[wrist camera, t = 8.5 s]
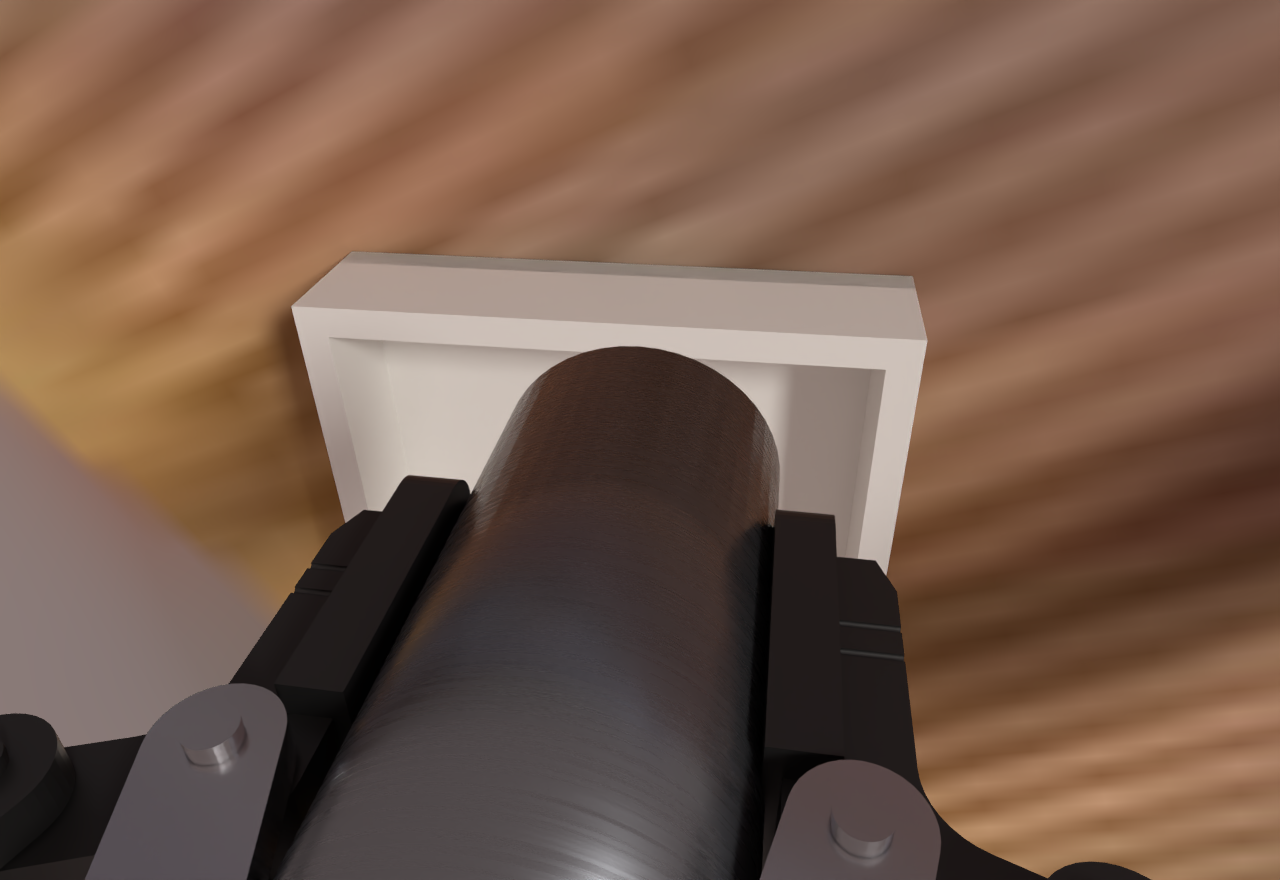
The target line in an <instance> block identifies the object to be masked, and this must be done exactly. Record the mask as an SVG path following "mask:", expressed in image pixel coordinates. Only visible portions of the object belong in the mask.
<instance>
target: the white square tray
mask: <svg viewBox="0 0 1280 880" xmlns="http://www.w3.org/2000/svg"><path fill="white" fill-rule="evenodd" d="M291 308H292V312H293V316H294V320H295V324H296V328H297V332H298V336H299V340H300V344H301V348H302V352H303V356H304V360H305V364H306V368H307V372H308V375H309V379H310V383H311V387H312V391H313V395H314V399H315V403H316V407H317V411H318V415H319V419H320V423H321V427H322V431H323V435H324V439H325V443H326V447H327V451H328V455H329V459H330V463H331V467H332V471H333V475H334V479H335V483H336V487H337V491H338V495H339V499H340V503H341V507H342V511H343V515H344V519H345V523H346V522H348V521H349V520H350V519H352V518H353V517H354V516H356V515H357V514H359V513H360V512H361V511H363V510H372V511H383V509H384V508H385V506H386V505H387V503H388V501H389V500H390V498H391V497H392V495H393V494H394V492H395V490H396V489H397V487H398V486H399V484H400V482H401V481H402V480H403V479H404V478H405V477H406V476H408V475H415V476H426V477H437V478H448V479H459V480H464V481H466V482H467V484H468V486H469V489H470V494H471V492H472V490H473V488H474V487H475V485H476V483H477V481H478V479H479V477H480V475H481V473H482V471H483V469H484V467H485V465H486V463H487V461H488V459H489V457H490V455H491V453H492V451H493V449H494V448H495V446H496V444H497V442H498V440H499V438H500V436H501V434H502V432H503V430H504V428H505V426H506V424H507V422H508V420H509V418H510V416H511V414H512V412H513V410H514V409H515V407H516V405H517V403H518V401H519V399H520V398H521V397H522V395H523V394H524V392H525V391H526V390H527V388H528V387H529V386H530V385H531V384H532V383H533V382H534V381H535V380H536V379H537V378H538V377H539V376H541V375H542V374H543V373H545V372H546V371H547V370H549V369H550V368H551V367H553V366H555V365H556V364H558V363H560V362H562V361H564V360H566V359H568V358H570V357H573V356H576V355H578V354H581V353H584V352H588V351H592V350H596V349H600V348H608V347H617V346H641V347H648V348H656V349H662V350H666V351H670V352H674V353H678V354H681V355H683V356H686V357H689V358H691V359H694V360H697V361H699V362H701V363H702V364H704V365H706V366H708V367H710V368H712V369H714V370H716V371H717V372H719V373H720V374H722V375H723V376H725V377H726V378H727V379H729V380H730V381H731V382H733V383H734V384H735V385H736V386H737V387H738V388H739V389H741V390H742V391H743V392H744V393H745V394H746V395H747V396H748V398H749V399H750V400H751V401H752V402H753V403H754V404H755V405H756V407H757V408H758V410H759V411H760V413H761V414H762V416H763V417H764V419H765V420H766V422H767V424H768V426H769V428H770V431H771V433H772V435H773V437H774V441H775V444H776V447H777V450H778V457H779V464H780V483H779V506H778V510H788V511H799V512H810V513H821V514H832V515H835V523H836V547H837V557H845V558H856V559H866V560H876V562H877V563H878V565H879V566H880V568H881V569H882V571H883V572H884V574H885V575H887V569H888V563H889V558H890V552H891V546H892V541H893V535H894V529H895V523H896V518H897V512H898V506H899V500H900V495H901V489H902V483H903V477H904V472H905V466H906V460H907V454H908V449H909V443H910V437H911V431H912V426H913V420H914V414H915V408H916V403H917V397H918V391H919V385H920V380H921V374H922V368H923V362H924V357H925V351H926V345H927V337H926V333H925V328H924V324H923V319H922V315H921V311H920V306H919V302H918V298H917V293H916V289H915V284H914V280H913V276H896V275H873V274H850V273H828V272H805V271H783V270H760V269H738V268H715V267H692V266H670V265H647V264H625V263H602V262H580V261H557V260H534V259H512V258H489V257H467V256H444V255H422V254H399V253H376V252H354V251H352V252H351V253H350V254H349V255H347V256H346V257H345V258H344V259H343V260H342V261H341V262H340V263H339V264H337V265H336V266H335V267H334V268H333V269H332V270H331V271H330V272H329V273H327V274H326V275H325V276H324V277H323V278H322V279H321V280H320V281H319V282H318V283H316V284H315V285H314V286H313V287H312V288H311V289H310V290H309V291H308V292H306V293H305V294H304V295H303V296H302V297H301V298H300V299H299V300H298V301H296V302H295V303H294V304H293V305H292V306H291Z"/></svg>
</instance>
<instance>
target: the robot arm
mask: <svg viewBox="0 0 1280 880" xmlns="http://www.w3.org/2000/svg"><path fill="white" fill-rule="evenodd" d="M469 496H470V489H469V486H468V484H467V482H466V481H464V480H459V479H448V478H437V477H426V476H415V475H408V476H406V477H405V478H404V479H403V480H402V481H401V482H400V484H399V486H398V487H397V489H396V490H395V492H394V494H393V495H392V497H391V498H390V500H389V501H388V503H387V505H386V506H385V508H384V509H383V511H372V510H363V511H361V512H360V513H359V514H357V515H356V516H354V517H353V518H352V519H350V520H349V521H348V522H346V523H345V524H344V525H342V526H341V527H339V528H338V529H337V530H335V531H334V532H333V533H331V535H330V536H329V538H328V539H327V540H326V542H325V543H324V545H323V546H322V548H321V549H320V551H319V552H318V554H317V555H316V557H315V558H314V560H313V561H312V562H311V564H312V565H311V568H310V569H308V568H307V570H306V571H305V573H304V574H303V576H302V577H301V579H300V580H299V582H298V583H297V584H296V586H295V592H294V593H290V595H289V596H288V598H287V599H286V601H285V602H284V604H283V605H282V606H281V608H280V609H279V611H278V612H277V614H276V615H275V617H274V618H273V620H272V621H271V623H270V624H269V626H268V627H267V628H266V630H265V631H264V633H263V635H262V636H261V637H260V639H259V640H258V642H257V643H256V645H255V646H254V648H253V649H252V651H251V652H250V654H249V655H248V657H247V658H246V659H245V661H244V662H243V664H242V665H241V667H240V668H239V670H238V671H237V673H236V674H235V675H234V677H233V679H232V680H231V681H230V683H229V684H226V685H220V686H217V687H212V688H209V689H206V690H203V691H201V692H198V693H195V694H193V695H192V696H190V697H188V698H186V699H184V700H182V701H181V702H179V703H178V704H176V705H174V706H173V707H172V708H170V709H169V710H168V711H167V712H166V713H165V714H163V715H162V716H161V717H160V718H159V719H158V720H157V721H156V722H155V724H154V725H153V726H152V727H151V729H150V730H149V731H148V733H147V734H146V735H142V736H137V737H130V738H124V739H117V740H111V741H104V742H97V743H91V744H84V745H78V746H71V747H63V745H62V743H61V741H60V740H59V738H58V736H57V734H56V733H55V731H54V729H53V728H52V726H51V725H50V724H49V723H48V722H46V721H45V720H44V719H41V718H39V717H37V716H33V715H28V714H5V715H0V880H273V878H274V877H275V875H276V873H277V871H278V869H279V867H280V865H281V863H282V861H283V859H284V857H285V855H286V853H287V851H288V849H289V847H290V845H291V843H292V841H293V839H294V838H295V836H296V834H297V832H298V830H299V828H300V826H301V824H302V822H303V820H304V818H305V816H306V814H307V812H308V810H309V808H310V806H311V804H312V802H313V800H314V799H315V797H316V795H317V793H318V791H319V789H320V787H321V785H322V783H323V781H324V779H325V777H326V775H327V773H328V771H329V769H330V767H331V765H332V763H333V761H334V760H335V758H336V756H337V754H338V752H339V750H340V748H341V746H342V744H343V742H344V740H345V738H346V736H347V734H348V732H349V730H350V728H351V726H352V724H353V722H354V721H355V719H356V717H357V715H358V713H359V711H360V709H361V707H362V705H363V703H364V701H365V699H366V697H367V695H368V693H369V691H370V689H371V687H372V685H373V683H374V682H375V680H376V678H377V676H378V674H379V672H380V670H381V668H382V666H383V664H384V662H385V660H386V658H387V656H388V654H389V652H390V650H391V648H392V646H393V644H394V643H395V641H396V639H397V637H398V635H399V633H400V631H401V629H402V627H403V625H404V623H405V621H406V619H407V617H408V615H409V613H410V611H411V609H412V607H413V605H414V604H415V602H416V600H417V598H418V596H419V594H420V592H421V590H422V588H423V586H424V584H425V582H426V580H427V578H428V576H429V574H430V572H431V570H432V568H433V566H434V565H435V563H436V561H437V559H438V557H439V555H440V553H441V551H442V549H443V547H444V545H445V543H446V541H447V539H448V537H449V535H450V533H451V531H452V529H453V527H454V526H455V524H456V522H457V520H458V518H459V516H460V514H461V512H462V510H463V508H464V506H465V504H466V502H467V500H468V498H469ZM900 630H901V623H900V614H899V606H898V597H897V591H896V590H895V588H894V587H893V585H892V584H891V582H890V581H889V579H888V578H887V576H886V575H885V574H884V572H883V571H882V569H881V568H880V566H879V565H878V563H877V562H876V560H866V559H856V558H845V557H837V547H836V523H835V515H832V514H821V513H810V512H799V511H788V510H778V509H776V511H775V518H774V529H773V548H772V568H771V588H770V607H769V627H768V647H767V666H766V686H765V706H764V725H763V745H762V765H761V788H762V793H763V798H764V838H763V861H762V874H761V877H760V880H1151V879H1149V878H1147V877H1145V876H1143V875H1141V874H1139V873H1137V872H1135V871H1132V870H1129V869H1127V868H1124V867H1121V866H1117V865H1113V864H1108V863H1102V862H1081V863H1075V864H1071V865H1068V866H1065V867H1063V868H1061V869H1059V870H1057V871H1056V872H1054V873H1053V874H1052V875H1051V876H1050V877H1049V878H1048V879H1047V878H1045V877H1043V876H1041V875H1038V874H1036V873H1034V872H1031V871H1029V870H1027V869H1024V868H1022V867H1020V866H1018V865H1015V864H1013V863H1011V862H1008V861H1006V860H1004V859H1001V858H999V857H997V856H995V855H992V854H990V853H988V852H986V851H984V850H982V849H980V848H978V847H977V846H975V845H973V844H972V843H970V842H969V841H967V840H966V839H964V838H963V837H962V836H960V835H959V834H958V833H957V832H956V831H954V830H953V829H952V828H951V827H950V826H949V825H948V824H947V823H946V822H945V821H944V820H943V819H942V818H941V817H940V816H939V814H938V813H937V812H936V810H935V809H934V808H933V806H932V805H931V803H930V802H929V800H928V798H927V796H926V794H925V793H924V790H923V787H922V785H921V782H920V779H919V774H918V769H917V760H916V752H915V743H914V734H913V726H912V717H911V709H910V700H909V692H908V683H907V674H906V666H905V662H904V649H903V640H902V633H901V632H900Z"/></svg>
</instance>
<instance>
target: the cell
mask: <svg viewBox="0 0 1280 880" xmlns="http://www.w3.org/2000/svg"><path fill="white" fill-rule="evenodd" d="M779 483H780V464H779V457H778V450H777V447H776V444H775V441H774V437H773V435H772V433H771V431H770V428H769V426H768V424H767V422H766V420H765V419H764V417H763V416H762V414H761V413H760V411H759V410H758V408H757V407H756V405H755V404H754V403H753V402H752V401H751V400H750V399H749V398H748V396H747V395H746V394H745V393H744V392H743V391H742V390H741V389H739V388H738V387H737V386H736V385H735V384H734V383H733V382H731V381H730V380H729V379H727V378H726V377H725V376H723V375H722V374H720V373H719V372H717V371H716V370H714V369H712V368H710V367H708V366H706V365H704V364H702V363H701V362H699V361H697V360H694V359H691V358H689V357H686V356H683V355H681V354H678V353H674V352H670V351H666V350H662V349H656V348H648V347H641V346H617V347H608V348H600V349H596V350H592V351H588V352H584V353H581V354H578V355H576V356H573V357H570V358H568V359H566V360H564V361H562V362H560V363H558V364H556V365H555V366H553V367H551V368H550V369H549V370H547V371H546V372H545V373H543V374H542V375H541V376H539V377H538V378H537V379H536V380H535V381H534V382H533V383H532V384H531V385H530V386H529V387H528V388H527V390H526V391H525V392H524V394H523V395H522V397H521V398H520V399H519V401H518V403H517V405H516V407H515V409H514V410H513V412H512V414H511V416H510V418H509V420H508V422H507V424H506V426H505V428H504V430H503V432H502V434H501V436H500V438H499V440H498V442H497V444H496V446H495V448H494V449H493V451H492V453H491V455H490V457H489V459H488V461H487V463H486V465H485V467H484V469H483V471H482V473H481V475H480V477H479V479H478V481H477V483H476V485H475V487H474V488H473V490H472V492H471V494H470V496H469V498H468V500H467V502H466V504H465V506H464V508H463V510H462V512H461V514H460V516H459V518H458V520H457V522H456V524H455V526H454V527H453V529H452V531H451V533H450V535H449V537H448V539H447V541H446V543H445V545H444V547H443V549H442V551H441V553H440V555H439V557H438V559H437V561H436V563H435V565H434V566H433V568H432V570H431V572H430V574H429V576H428V578H427V580H426V582H425V584H424V586H423V588H422V590H421V592H420V594H419V596H418V598H417V600H416V602H415V604H414V605H413V607H412V609H411V611H410V613H409V615H408V617H407V619H406V621H405V623H404V625H403V627H402V629H401V631H400V633H399V635H398V637H397V639H396V641H395V643H394V644H393V646H392V648H391V650H390V652H389V654H388V656H387V658H386V660H385V662H384V664H383V666H382V668H381V670H380V672H379V674H378V676H377V678H376V680H375V682H374V683H373V685H372V687H371V689H370V691H369V693H368V695H367V697H366V699H365V701H364V703H363V705H362V707H361V709H360V711H359V713H358V715H357V717H356V719H355V721H354V722H353V724H352V726H351V728H350V730H349V732H348V734H347V736H346V738H345V740H344V742H343V744H342V746H341V748H340V750H339V752H338V754H337V756H336V758H335V760H334V761H333V763H332V765H331V767H330V769H329V771H328V773H327V775H326V777H325V779H324V781H323V783H322V785H321V787H320V789H319V791H318V793H317V795H316V797H315V799H314V800H313V802H312V804H311V806H310V808H309V810H308V812H307V814H306V816H305V818H304V820H303V822H302V824H301V826H300V828H299V830H298V832H297V834H296V836H295V838H294V839H293V841H292V843H291V845H290V847H289V849H288V851H287V853H286V855H285V857H284V859H283V861H282V863H281V865H280V867H279V869H278V871H277V873H276V875H275V877H274V878H273V880H760V877H761V874H762V861H763V838H764V798H763V793H762V788H761V765H762V745H763V725H764V706H765V686H766V666H767V647H768V627H769V607H770V588H771V568H772V548H773V529H774V518H775V511H776V509H778V506H779Z"/></svg>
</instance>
